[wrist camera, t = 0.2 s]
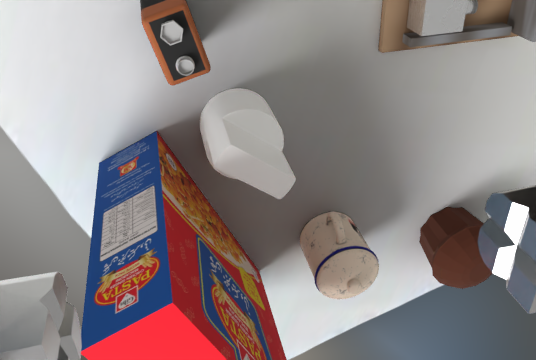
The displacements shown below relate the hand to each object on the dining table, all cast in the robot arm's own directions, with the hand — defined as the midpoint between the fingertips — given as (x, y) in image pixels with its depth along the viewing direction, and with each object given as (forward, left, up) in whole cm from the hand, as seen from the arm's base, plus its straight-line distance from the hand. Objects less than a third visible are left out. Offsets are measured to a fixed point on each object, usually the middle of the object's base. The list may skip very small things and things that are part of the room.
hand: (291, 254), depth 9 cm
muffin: (+45, +38, -48) cm, 76 cm away
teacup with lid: (+40, +18, -48) cm, 65 cm away
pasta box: (+35, -2, -48) cm, 59 cm away
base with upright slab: (+21, +6, -48) cm, 52 cm away
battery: (+8, 0, -48) cm, 48 cm away
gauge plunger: (+8, +30, -46) cm, 56 cm away
